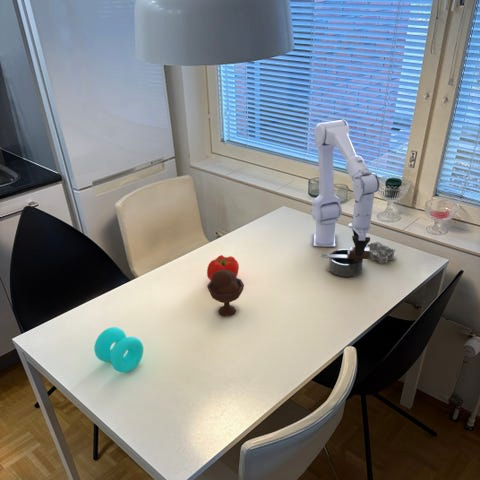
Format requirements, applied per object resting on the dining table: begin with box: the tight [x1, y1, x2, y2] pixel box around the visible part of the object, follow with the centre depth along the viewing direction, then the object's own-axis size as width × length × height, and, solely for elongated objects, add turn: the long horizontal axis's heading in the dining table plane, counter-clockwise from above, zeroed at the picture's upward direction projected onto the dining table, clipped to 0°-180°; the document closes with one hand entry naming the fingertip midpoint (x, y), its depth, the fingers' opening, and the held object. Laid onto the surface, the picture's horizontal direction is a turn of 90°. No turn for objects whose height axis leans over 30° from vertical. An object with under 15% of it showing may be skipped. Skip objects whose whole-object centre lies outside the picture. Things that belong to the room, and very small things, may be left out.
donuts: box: [93, 326, 144, 373], centre depth 133 cm, size 10×10×10 cm
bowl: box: [328, 248, 364, 278], centre depth 170 cm, size 11×11×5 cm
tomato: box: [206, 254, 240, 281], centre depth 165 cm, size 11×11×9 cm
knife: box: [320, 246, 370, 260], centre depth 167 cm, size 16×2×3 cm, turn 82°
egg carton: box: [365, 241, 397, 264], centre depth 176 cm, size 11×8×4 cm
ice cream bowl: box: [206, 270, 245, 317], centre depth 149 cm, size 11×11×15 cm
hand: (358, 250), depth 166 cm, fingers open, 7 cm apart
